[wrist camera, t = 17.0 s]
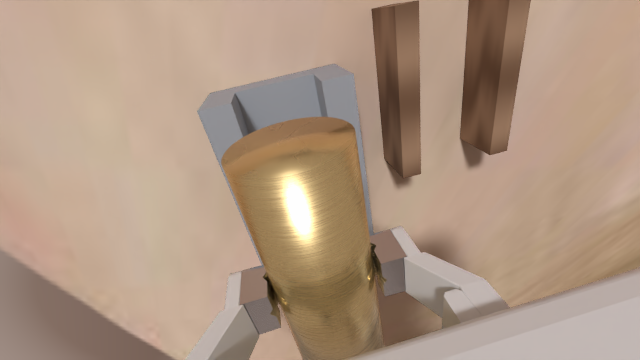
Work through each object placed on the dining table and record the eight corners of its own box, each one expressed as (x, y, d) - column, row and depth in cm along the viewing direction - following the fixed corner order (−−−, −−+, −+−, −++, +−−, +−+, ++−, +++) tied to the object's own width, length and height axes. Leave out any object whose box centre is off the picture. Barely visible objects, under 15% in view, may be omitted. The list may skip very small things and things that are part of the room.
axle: (372, 329, 17) (401, 405, 14) (309, 349, 17) (323, 432, 14) (335, 108, 10) (376, 150, 7) (227, 135, 10) (212, 194, 7)
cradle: (357, 210, 29) (374, 243, 24) (264, 235, 28) (265, 274, 24) (334, 63, 21) (353, 73, 17) (210, 93, 21) (197, 111, 17)
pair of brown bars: (475, 134, 27) (506, 150, 23) (384, 158, 26) (403, 178, 23) (489, -18, 21) (534, -26, 17) (371, 9, 20) (394, 5, 17)
